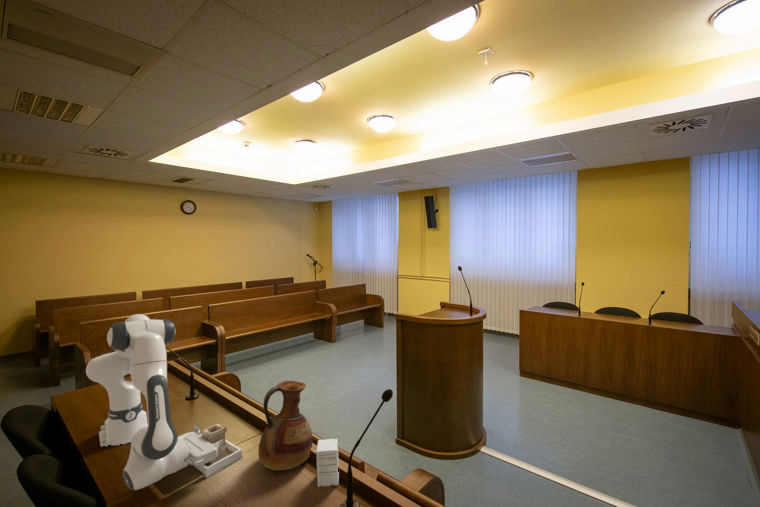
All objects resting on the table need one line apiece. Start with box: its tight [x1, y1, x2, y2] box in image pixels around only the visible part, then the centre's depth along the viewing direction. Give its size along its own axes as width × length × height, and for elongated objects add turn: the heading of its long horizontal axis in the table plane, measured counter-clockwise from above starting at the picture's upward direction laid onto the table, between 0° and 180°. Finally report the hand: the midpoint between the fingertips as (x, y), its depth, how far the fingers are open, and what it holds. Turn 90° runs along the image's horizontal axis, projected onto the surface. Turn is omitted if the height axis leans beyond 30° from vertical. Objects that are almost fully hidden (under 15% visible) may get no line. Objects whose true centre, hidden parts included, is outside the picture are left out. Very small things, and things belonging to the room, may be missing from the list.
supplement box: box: [316, 438, 340, 488], centre depth 120 cm, size 7×7×13 cm
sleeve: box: [202, 423, 228, 465], centre depth 133 cm, size 6×7×12 cm
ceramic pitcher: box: [258, 380, 313, 472], centre depth 131 cm, size 20×20×30 cm
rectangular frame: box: [192, 438, 243, 479], centre depth 132 cm, size 14×14×4 cm
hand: (217, 437), depth 133 cm, fingers open, 7 cm apart
